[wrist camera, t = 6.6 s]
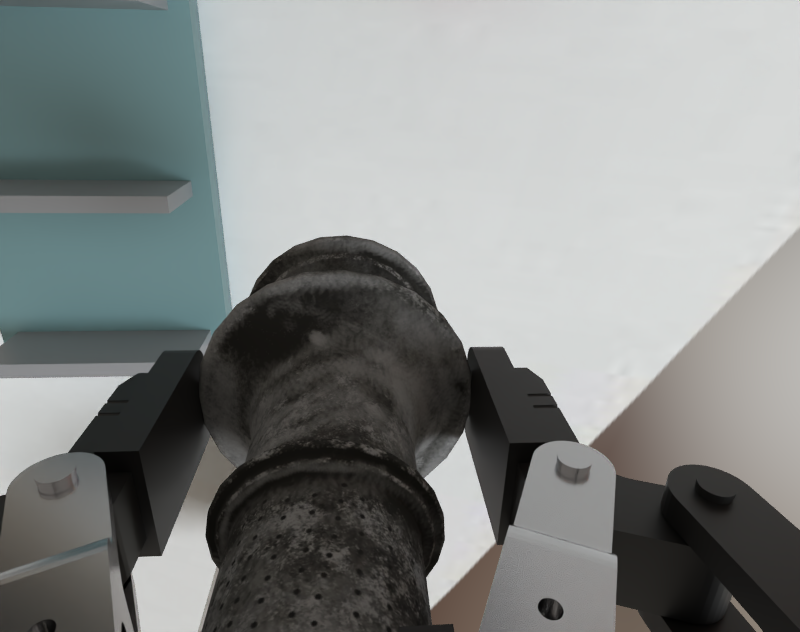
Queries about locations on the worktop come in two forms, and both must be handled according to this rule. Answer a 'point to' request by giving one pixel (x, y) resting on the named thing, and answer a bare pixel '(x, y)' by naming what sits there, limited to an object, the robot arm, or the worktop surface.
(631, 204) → the worktop surface
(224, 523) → the grey chess piece
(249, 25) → the worktop surface
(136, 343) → the rack
